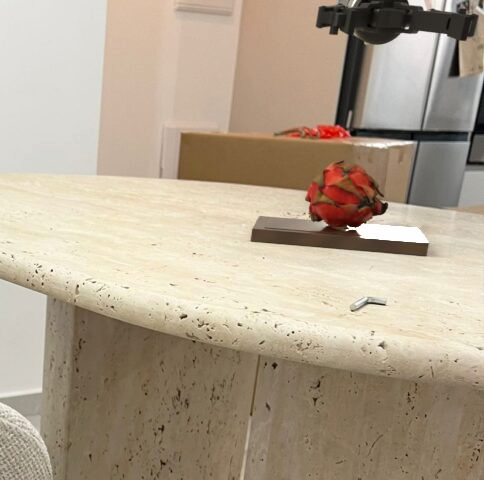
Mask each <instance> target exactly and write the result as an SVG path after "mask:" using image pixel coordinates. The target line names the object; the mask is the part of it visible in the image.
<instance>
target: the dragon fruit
mask: <svg viewBox="0 0 484 480" xmlns="http://www.w3.org/2000/svg"><path fill="white" fill-rule="evenodd" d="M344 162H346V161H345V159H344V160H343V159H342V160H336V161H333V162H332V163H330V164H329V165H328V166H326V167H325V168H324V169H323V170H322V171H321V172H319V173H318V174H317V175H316V177H315V178H314V179H313V180H312V181H311V183H310V184H309V186H308V189H307V192H306V195H305V198H304V200H305V202H307V203H309V206H308V213H309V218H310V220H312V221H313V222H314V221H317V222H320V221H324V222H325V223H326V224H328V225H330V226H331V227H332V228H333V229H336V230H340V231H341V230H350V229H349V228H348V227H347V226H349V227H351V228H358V227H360V226H362V225H363V224H367V222H369V221H370V220H372V219H373V218H374V217H378V216H382V215H384V214H386V212H387V210H388V209H389V202H386V201H385V202H383V201H382V200H381V199H380V198H378V197H377V196H378V195H379V196H380V197H381V198H385V195H384V194H383V193H382V192H381V191H380V190H379V187H380V185H379V183H378V182H377V180H376V179H374V177H373V176H372V175H370V174H368V172H367V170H365V169H364V168H363V167H362V166H360V165H359V164H358V163H354V162H353V163H349V164H345V163H344Z"/></svg>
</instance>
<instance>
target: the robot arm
mask: <svg viewBox="0 0 484 480" xmlns="http://www.w3.org/2000/svg"><path fill="white" fill-rule="evenodd" d="M467 11H468V8H466V7H459V9H458V12H454V11H445V10H440V9H436V8H428V9H427V10H425V9H424V6H422V5H414V4H413V5H412V4H410V3H409V0H337V2H336V3H335V4H332V5H321V6H318V9H317V16H316V21H315V28H317V29H324V28H329V32H328V35H332V36H338V34H339V31H341V32H342V33H344V34H346V35H349V36H353V37H356V38H358V39H360V40H361V41H363V44H364V45H365V46H370V45H372V46H373V45H374V46H380V45H386V44H388V43H390V42H393V41H394V40H396V39H397V38H398V37H399V36H400V35H401V34H408V35H416V34H418V33H419V32H426V33H431V34H432V33H434V34H440V35H441V34H442V35H446V37H448V38H450V39H451V38H452V39H454V40H457V41H459V42H467V40H468V38H471V37H474V36H475V34H476V29H477V27H478V26H477V25H478V20H479V17H480V15H479V14H477V13H467Z"/></svg>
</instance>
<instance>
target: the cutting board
mask: <svg viewBox="0 0 484 480" xmlns="http://www.w3.org/2000/svg"><path fill="white" fill-rule="evenodd" d="M347 227H348V228H349V229H350V230H341V231H340V230H336V229H333V228H332V227H331V226H330V225H328V224H326V223H325V222H324V220H322V221H320V222H317V221H314V222H313V221H312V220H311V219H304V218H292V217H278V216H267V215H259V216H258V218H257V220H256V221H255V223H254V225H253V226H252V229H251V234H250V235H251V236H250V242H257V243H267V244H268V243H269V244H283V245H292V246H293V245H294V246H302V247H303V246H305V247H316V248H317V247H318V248H327V249H328V248H329V249H339V250H349V251H351V250H352V251H361V252H362V251H364V252H375V253H388V254H399V255H409V256H410V255H412V256H422V257H427V256H428V251H429V246H430V242H429V241H428V240H427V238H426V237H425V235H424V234H423V233H422V231H421V230H420V229H419V228H418V227H408V226H407V227H406V226H396V225H395V226H394V225H381V224H367V223H366V224H363V225H362V226H360V227H358V228H351V227H349V226H347Z"/></svg>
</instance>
